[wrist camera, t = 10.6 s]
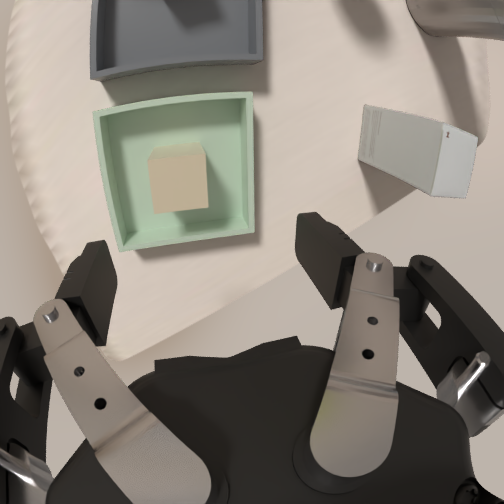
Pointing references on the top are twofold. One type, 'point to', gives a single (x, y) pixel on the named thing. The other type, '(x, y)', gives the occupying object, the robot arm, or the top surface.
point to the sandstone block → (178, 177)
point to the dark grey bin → (172, 35)
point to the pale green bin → (170, 133)
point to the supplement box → (418, 151)
